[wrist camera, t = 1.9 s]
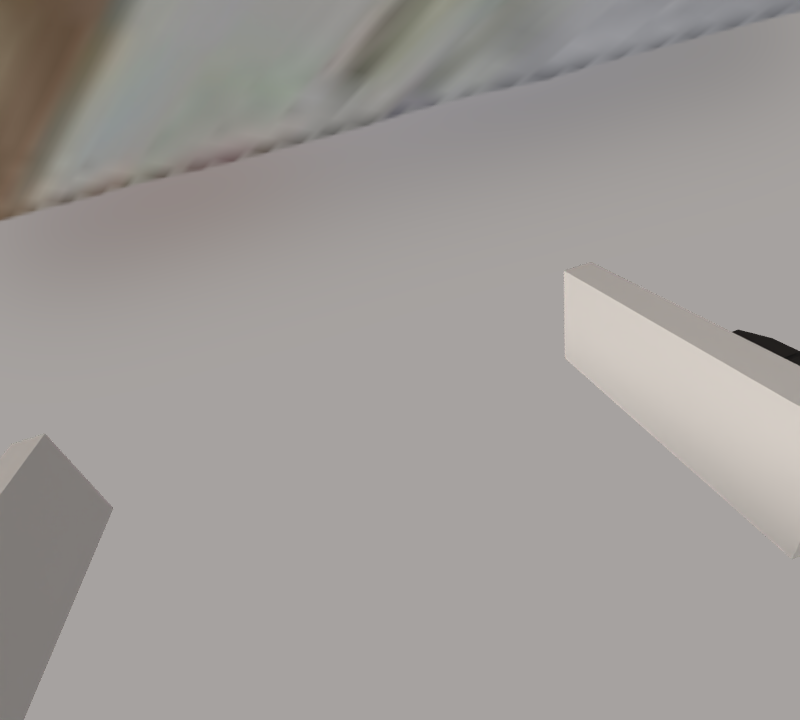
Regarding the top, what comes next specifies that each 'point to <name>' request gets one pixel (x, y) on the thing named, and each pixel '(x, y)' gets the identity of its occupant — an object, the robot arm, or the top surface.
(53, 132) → the top surface
